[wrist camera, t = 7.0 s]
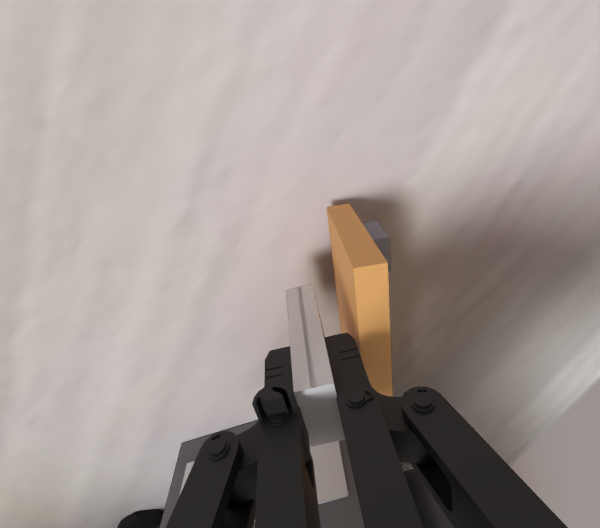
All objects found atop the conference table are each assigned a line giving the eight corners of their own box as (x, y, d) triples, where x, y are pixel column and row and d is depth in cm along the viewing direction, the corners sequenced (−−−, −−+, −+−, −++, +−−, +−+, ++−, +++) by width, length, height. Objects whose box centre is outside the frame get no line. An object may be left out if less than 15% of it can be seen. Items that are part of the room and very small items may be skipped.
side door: (324, 207, 19) (350, 268, 12) (364, 200, 19) (410, 259, 12) (347, 400, 25) (372, 506, 19) (377, 396, 25) (411, 499, 19)
